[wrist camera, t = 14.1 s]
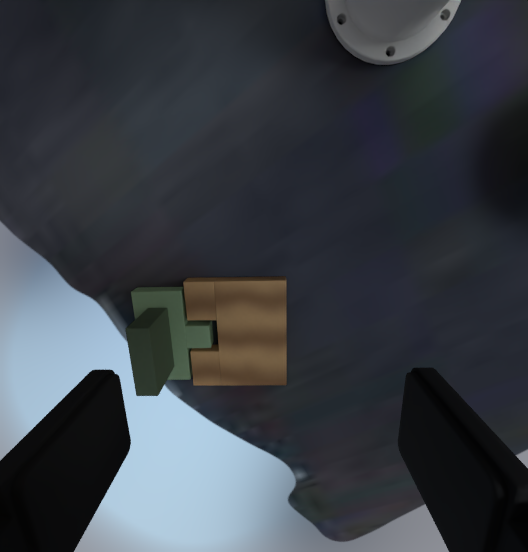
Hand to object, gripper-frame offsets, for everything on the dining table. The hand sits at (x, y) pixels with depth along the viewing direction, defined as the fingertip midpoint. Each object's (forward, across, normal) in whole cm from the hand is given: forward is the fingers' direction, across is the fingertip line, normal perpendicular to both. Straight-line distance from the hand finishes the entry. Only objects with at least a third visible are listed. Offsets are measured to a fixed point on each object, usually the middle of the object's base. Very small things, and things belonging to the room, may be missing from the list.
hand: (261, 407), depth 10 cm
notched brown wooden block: (+26, +4, +10) cm, 28 cm away
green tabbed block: (+26, +12, +10) cm, 31 cm away
